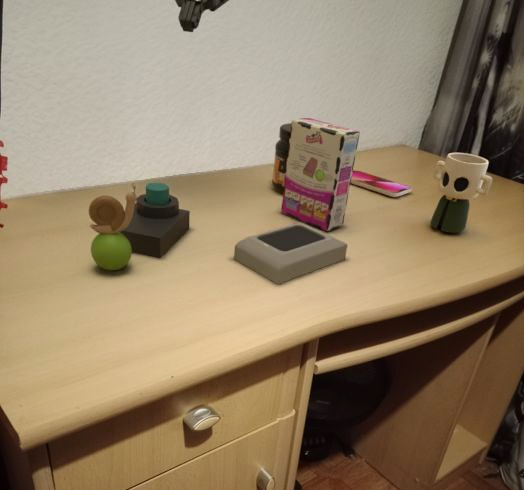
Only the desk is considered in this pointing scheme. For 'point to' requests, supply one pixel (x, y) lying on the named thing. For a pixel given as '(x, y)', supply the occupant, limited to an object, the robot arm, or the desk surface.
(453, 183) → the character mug
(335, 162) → the candy bar box
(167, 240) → the black button base
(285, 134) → the supplement container
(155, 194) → the push button
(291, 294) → the desk surface
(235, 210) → the desk surface
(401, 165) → the desk surface
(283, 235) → the grey bevelled block
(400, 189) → the smartphone
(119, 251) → the snail figurine
